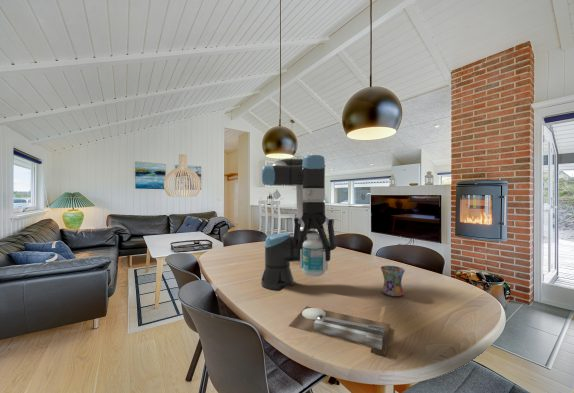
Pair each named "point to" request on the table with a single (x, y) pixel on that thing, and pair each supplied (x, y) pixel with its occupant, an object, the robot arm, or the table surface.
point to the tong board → (329, 314)
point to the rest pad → (312, 313)
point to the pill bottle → (313, 255)
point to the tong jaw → (353, 325)
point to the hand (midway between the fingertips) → (313, 268)
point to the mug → (392, 280)
